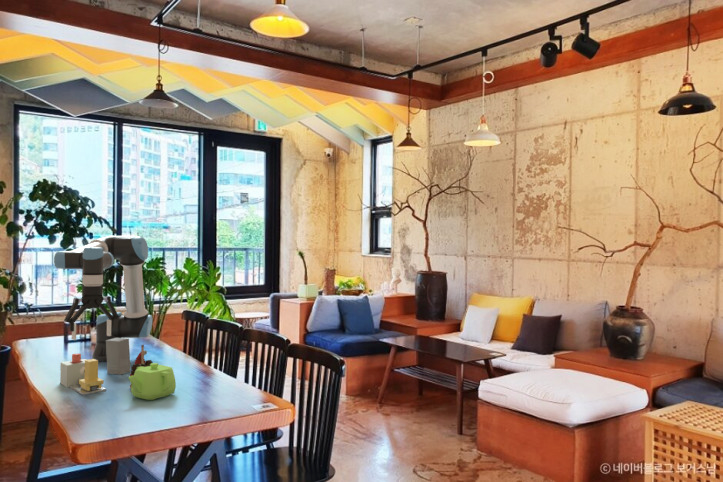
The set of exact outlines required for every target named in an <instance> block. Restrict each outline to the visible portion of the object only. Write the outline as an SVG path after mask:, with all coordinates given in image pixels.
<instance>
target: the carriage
mask: <svg viewBox="0 0 723 482" xmlns="http://www.w3.org/2000/svg"><path fill="white" fill-rule="evenodd" d="M79 384H80V385H81V388H83V389H85V390H87V391H89V390H90V386H95V385H96V386H97V388H99V389H100V388H101V387H102V385H104V379H102V378H100V377H99V361H98V360H96V359H92V358H90V359H87V360H85V379H81V380H79Z"/></svg>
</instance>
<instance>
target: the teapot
mask: <svg viewBox="0 0 723 482" xmlns="http://www.w3.org/2000/svg"><path fill="white" fill-rule="evenodd" d="M127 379H128V380H129V382H130V385H132V386H131V388H130V391H131V394H132V397H135V398H139V399H142V400H147V401H155V400H156V399H160V398H163V397H168V396H170V395H172V394H174V393H175V391H176V388H177V385H176V384H177V383H176V377H175V372H174V369H173V367H171V366H168V365H164V364H159V363H158V362H153V363H151V364H150V366H147V367H143V366H140V367H137V369H136V370H135V373H134V376H133V375H132V376H130V375H129V376H128V377H127Z"/></svg>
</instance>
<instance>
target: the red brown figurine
mask: <svg viewBox="0 0 723 482" xmlns="http://www.w3.org/2000/svg"><path fill="white" fill-rule="evenodd" d="M147 354H148V351H147V350H145V345H144V344H141V350H140V352H139V353H138V354H137V357H136V358H135V360H134V363H133V364H132V366H131V370H130V374H129V377H130V376H132V375H133V376H134V373H135V370H136V369H137V367H140V366H143V367H147V366H150V364H151V363H154V362H153V361H152V359H148V360H145V356H146V355H147ZM131 386H132V385H131V384H129V388H130V389H131Z"/></svg>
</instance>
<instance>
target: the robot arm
mask: <svg viewBox="0 0 723 482" xmlns="http://www.w3.org/2000/svg"><path fill="white" fill-rule="evenodd" d="M148 257H149V247H148V243H147V240H146V239H145V238H144V237H143V236H140V235H139V236H137V235H108V236H104V237H100V238H96V239H94V240H91V241H90V242H89V243H88V244H86V245H83V246H80V247H76V248H74V249H72V250H71V249H70V250H59V251H56V252H55V253H54V257H53V264H54V266H55V268H56V269H60V270H82V282H81V283H82V287H81V290H82V291H81V296H82V297H81V298H79V297H74V298H73V301H72V305H71V306H70V308H69V310H68V312H67V314H66V315H65V317H64V319H63V322H65V323H68V325H69V327H68V329H69V332H71V340H73V341H76V340H77V323H76V321H77V320H78V319H79V318H80V317H81V315H83V313H84V312H85V311H86V310H87V309H89V310H90V309H91V310H92V309H97V308H98V309H100V311H101V312H102V313H103V314H99V315H98V316H97V317H96V324H95V326H96V329H95V330H96V331H95V332H96V336H95V337H96V338H95V339H96V340H95V347H94V350H93V351H92V355H91V359H96V360H98V362H107V354H106V340H109V339H113V338H126V339H143V338H145V339H146V338H148V337H149V335H150V333H151V331H152V326H153V316H152V314H149V310H147V309H146V308H145V297H144V295H145V293H144V281H143V280H144V279H143V265H144V264H145V262H146V260H147V259H148ZM115 260H119V265H120V266H122V267H123V268H122V269H123V280H124V292H125V295H124V296H125V304H126V305H125V307H126V310H125V311H124V312H123V313H122V312H121V311H116V308H115V306H114V304H113V303H112V298H111V296H108V295H106V296H103V294H104V293H103V292H104V290H103V289H104V286H103V284H104V270H107V269H109V268H111V267H112V266H113V265H114V264H115ZM103 302H105V303H106V305H107V307H108V309H109V310H108V309H107V308H106V307H105V305H104V304H102V303H103ZM80 303H82V304H81V306H80V307H79V308H78V306H79V305H80ZM77 308H78V310H77V311H76V309H77ZM109 311H110V312H109Z"/></svg>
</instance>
